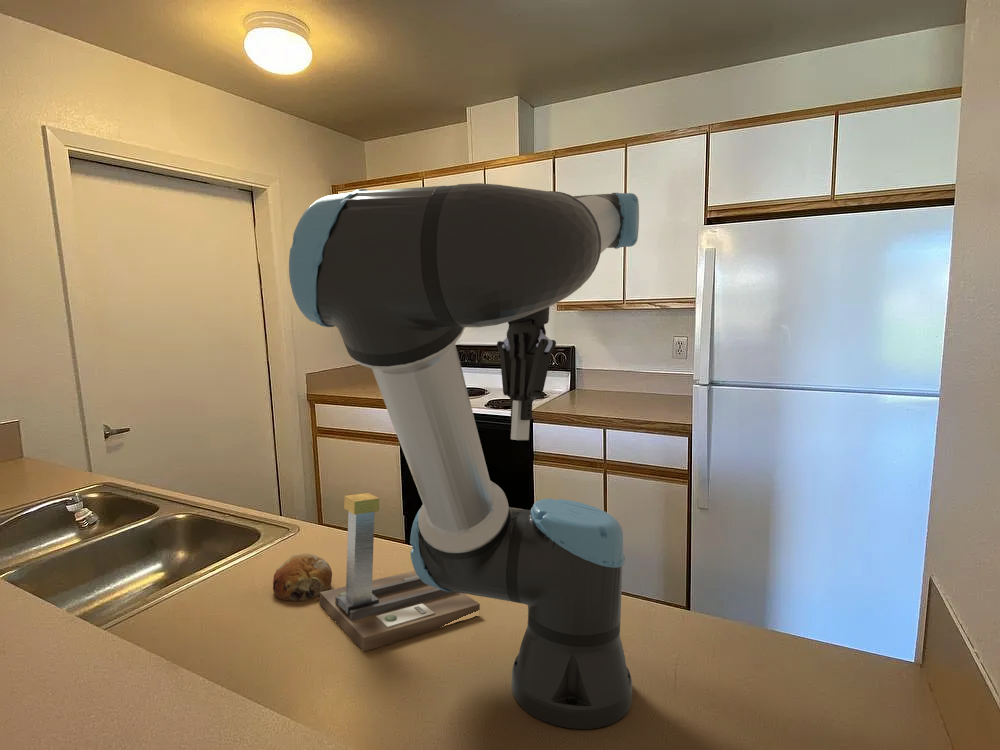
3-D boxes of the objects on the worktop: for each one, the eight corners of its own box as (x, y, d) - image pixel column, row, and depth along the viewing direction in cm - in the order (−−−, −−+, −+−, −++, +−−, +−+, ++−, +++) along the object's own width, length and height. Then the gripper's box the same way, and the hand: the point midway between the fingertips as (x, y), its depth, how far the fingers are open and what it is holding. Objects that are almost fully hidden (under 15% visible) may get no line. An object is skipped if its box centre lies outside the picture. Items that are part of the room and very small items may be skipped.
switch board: (479, 616, 89) (480, 596, 89) (363, 651, 77) (364, 629, 77) (424, 578, 103) (425, 562, 103) (319, 604, 91) (320, 585, 91)
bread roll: (335, 604, 99) (343, 558, 103) (315, 602, 90) (324, 552, 93) (283, 600, 100) (293, 554, 103) (257, 598, 91) (269, 548, 94)
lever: (378, 606, 86) (382, 497, 85) (347, 614, 83) (351, 501, 82) (368, 597, 89) (371, 492, 88) (338, 604, 86) (341, 496, 85)
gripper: (570, 299, 89) (562, 443, 89) (520, 306, 100) (512, 435, 99) (536, 292, 85) (527, 444, 84) (487, 300, 95) (479, 435, 94)
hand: (519, 439), depth 92 cm, fingers closed
